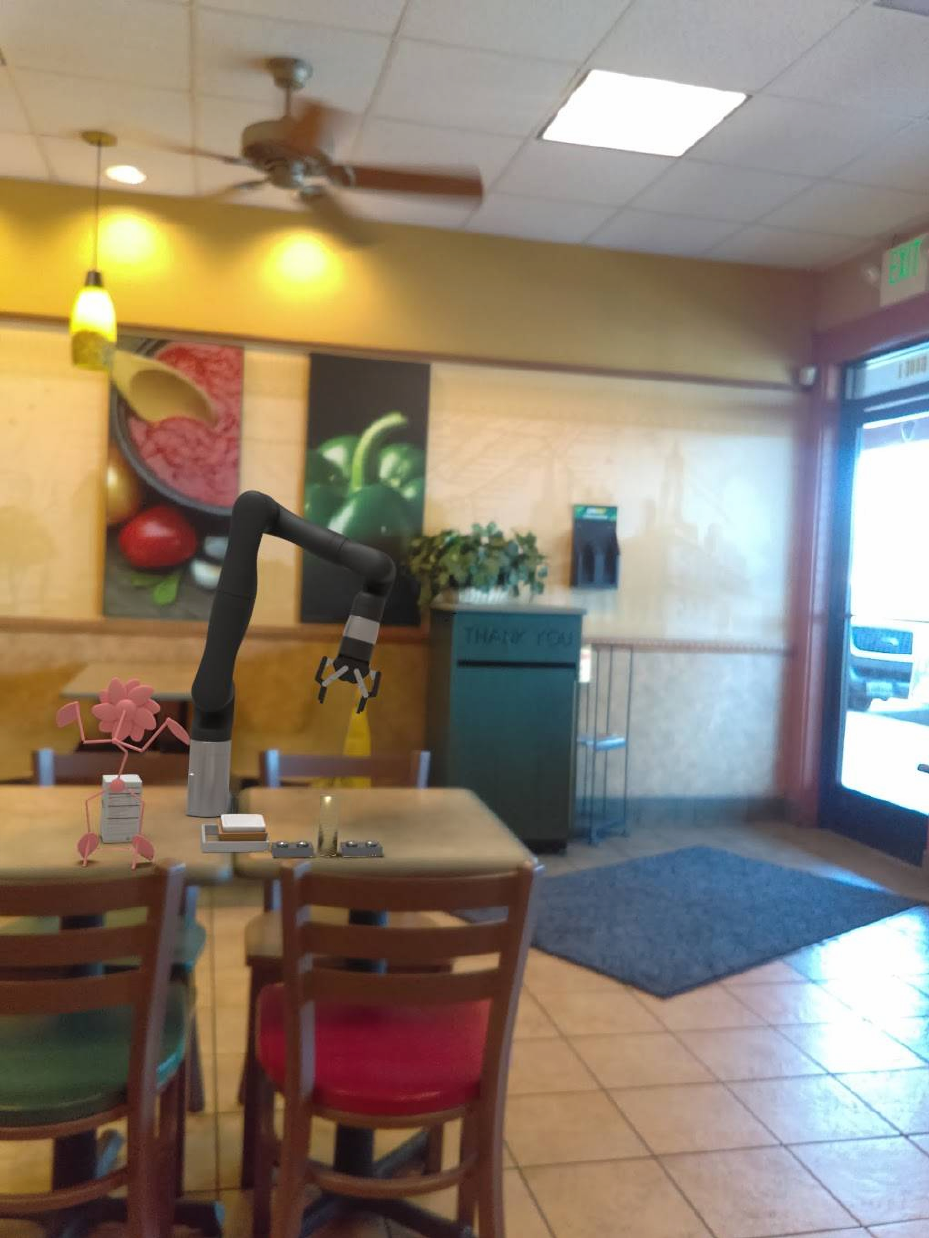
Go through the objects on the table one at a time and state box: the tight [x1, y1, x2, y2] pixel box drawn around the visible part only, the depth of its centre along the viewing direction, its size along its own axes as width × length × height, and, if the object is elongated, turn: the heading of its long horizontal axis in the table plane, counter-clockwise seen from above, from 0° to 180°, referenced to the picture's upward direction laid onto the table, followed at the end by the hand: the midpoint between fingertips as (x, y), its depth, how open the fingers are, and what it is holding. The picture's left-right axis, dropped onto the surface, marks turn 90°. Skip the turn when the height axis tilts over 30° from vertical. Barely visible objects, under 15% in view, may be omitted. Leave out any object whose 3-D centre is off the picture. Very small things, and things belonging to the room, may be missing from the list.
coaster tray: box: [200, 823, 270, 853], centre depth 221 cm, size 13×15×2 cm
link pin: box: [316, 793, 341, 856], centre depth 216 cm, size 4×4×12 cm
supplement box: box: [99, 774, 143, 844], centre depth 219 cm, size 7×7×13 cm
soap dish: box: [217, 813, 269, 842], centre depth 221 cm, size 12×10×5 cm
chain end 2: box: [339, 839, 383, 857], centre depth 218 cm, size 8×4×3 cm, turn 105°
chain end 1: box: [270, 840, 315, 858], centre depth 214 cm, size 8×4×3 cm, turn 105°
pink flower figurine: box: [55, 677, 191, 870], centre depth 204 cm, size 15×26×35 cm, turn 91°
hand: (339, 708), depth 237 cm, fingers open, 8 cm apart
